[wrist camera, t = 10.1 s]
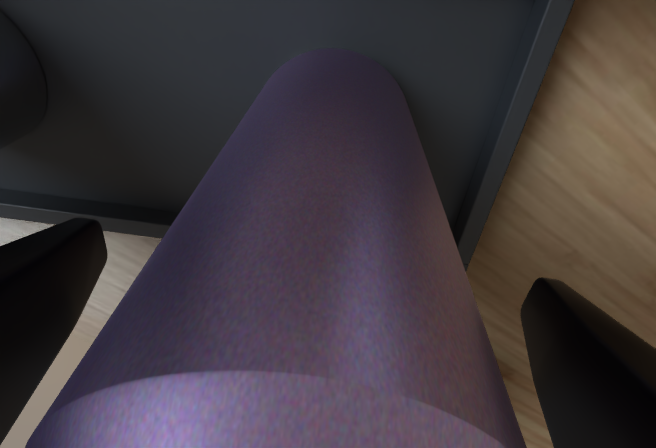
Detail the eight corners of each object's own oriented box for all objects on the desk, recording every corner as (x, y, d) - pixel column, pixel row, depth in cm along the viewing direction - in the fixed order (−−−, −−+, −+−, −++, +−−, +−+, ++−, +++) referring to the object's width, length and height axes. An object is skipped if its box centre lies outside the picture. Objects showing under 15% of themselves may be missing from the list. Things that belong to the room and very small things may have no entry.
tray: (456, 255, 20) (464, 278, 19) (-107, 181, 20) (-143, 199, 18) (569, -48, 13) (595, -47, 12) (-295, -174, 13) (-376, -189, 11)
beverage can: (269, 26, 15) (-237, 471, 2) (429, 65, 15) (798, 625, 3) (250, 173, 18) (11, 687, 5) (383, 202, 18) (444, 738, 6)
